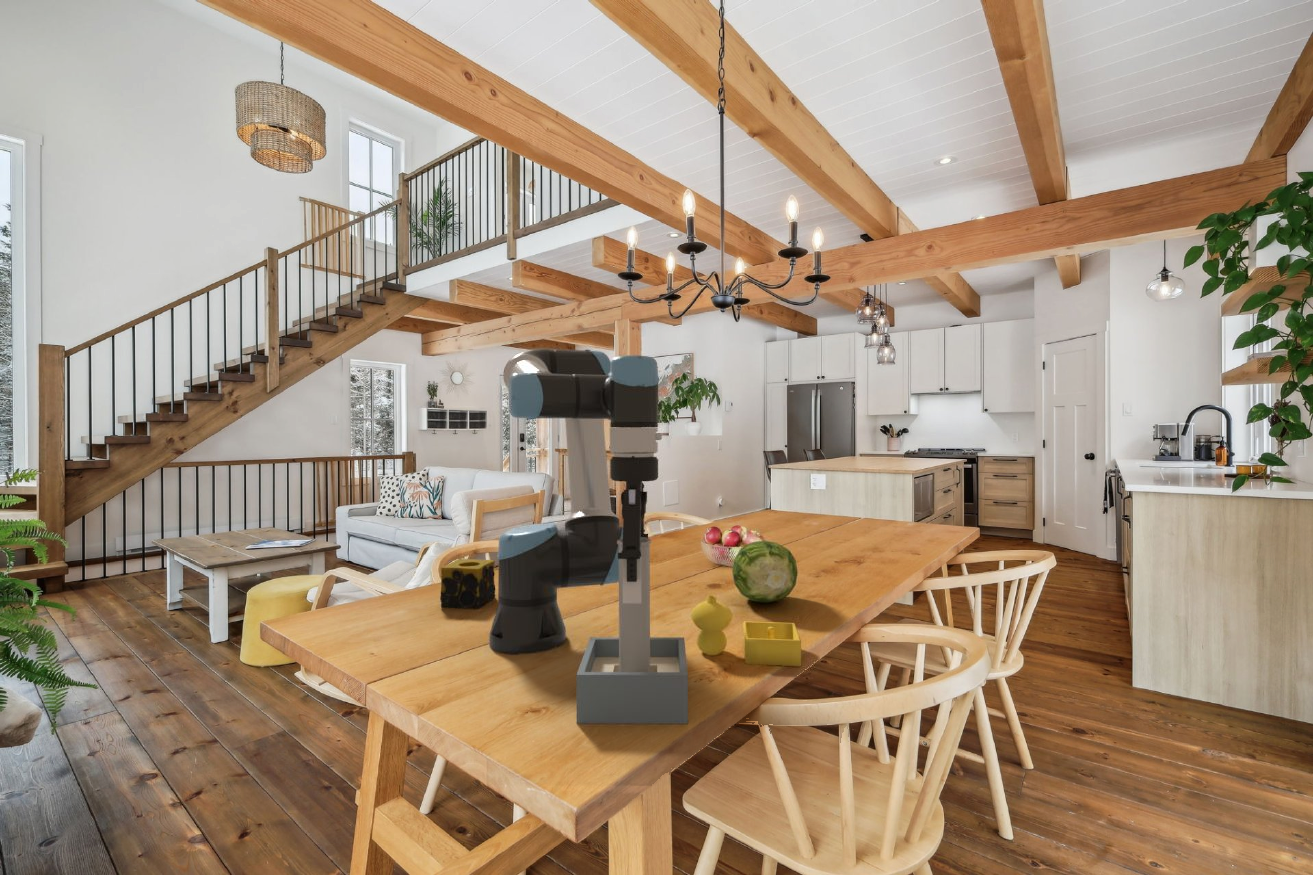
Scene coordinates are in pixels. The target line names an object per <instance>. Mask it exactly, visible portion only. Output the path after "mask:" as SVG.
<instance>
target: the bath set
mask: <svg viewBox="0 0 1313 875" xmlns="http://www.w3.org/2000/svg"><path fill="white" fill-rule="evenodd" d="M690 618H691V620H692V622H693V624H694V625H695V626H696V627H697V628H698V629H699V630H700V631H699V632H698V634H697V637H696V645H697V647H698V649H699V650H700V651H701V652H702V653H703V654H704V655H707V656H717V655H720V654H721V653H722V652H724V650H725V649H726V647H727V641H728V640H727V637H726V634H725V633H724V631H723V630H725V629H726V628H727V627H728V626H730V624H731V622H732V620H733V612H732V611H731V609H730V608H729V607H728V606H727V605H726V604H724V603H722V602H720V601H718V600H717V596H716V595H707V596H706V600H705V601H703V602H700V603H698V604H696V606H694V607H693V609H692V610H691V614H690ZM743 652H744V653H743V654H744V662H745V664H746V665H766V666H776V665H782V666H783V667H802V639H801V637H800V635H799V632H798V629H797V626H796V624H795V623H794V622H775V621H773V622H770V621H769V622H768V621H767V622H766V621H743Z"/></svg>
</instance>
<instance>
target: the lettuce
mask: <svg viewBox="0 0 1313 875" xmlns="http://www.w3.org/2000/svg"><path fill="white" fill-rule="evenodd" d="M798 573H799V571H798V567H797V561H796V558H795V557H794V555H793V554H792V552H791V551H790V550H789V549H788V548H786V547H784V546H783V545H781V544H780V543H778V542H773V541H768V540H767V541H766V540H760V541H754V542H750V543H747V545H745V546H743V547H742V548H740V549H739V551H738V552H737V554H736V556H735V557H734V558H733V565H732V577H733V583H734V585H735V587H736V589H737V591H738V592H739V593H740V595H741V596H743V597H745V598H747V599H749V600H750V601H754V602H758V603H771V602H772V603H773V602H779V601H781V600H782V599H785V598H786V597H787V596H789V595H790V594H791V592H792V591H793V589H794V588H795V587H796V585H797V580H798Z"/></svg>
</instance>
